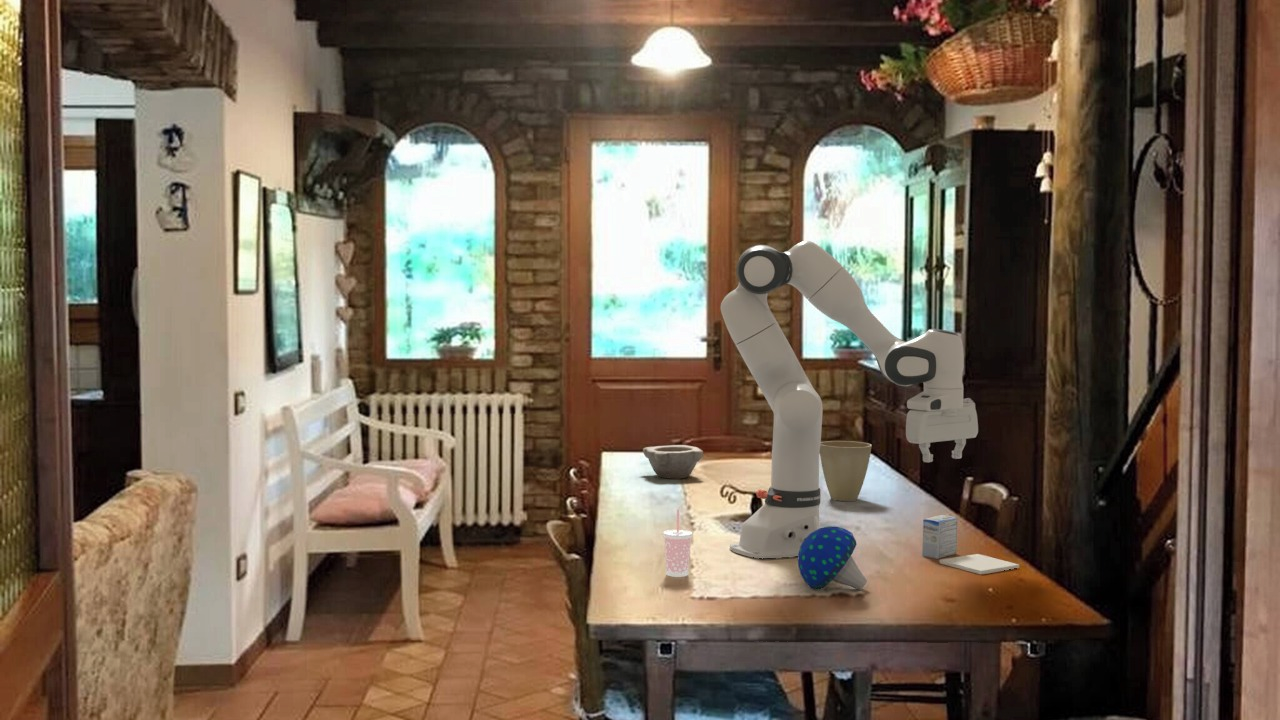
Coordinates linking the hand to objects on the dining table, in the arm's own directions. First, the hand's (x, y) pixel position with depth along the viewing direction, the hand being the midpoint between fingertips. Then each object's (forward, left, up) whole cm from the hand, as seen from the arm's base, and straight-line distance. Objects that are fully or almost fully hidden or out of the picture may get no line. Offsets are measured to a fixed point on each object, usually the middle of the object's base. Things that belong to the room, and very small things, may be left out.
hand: (942, 460), depth 283 cm
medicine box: (-1, 0, -22) cm, 22 cm away
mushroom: (-43, -11, -22) cm, 49 cm away
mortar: (+5, +121, -22) cm, 123 cm away
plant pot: (+27, +65, -22) cm, 73 cm away
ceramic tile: (-1, -12, -22) cm, 25 cm away
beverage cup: (-64, +14, -22) cm, 69 cm away
